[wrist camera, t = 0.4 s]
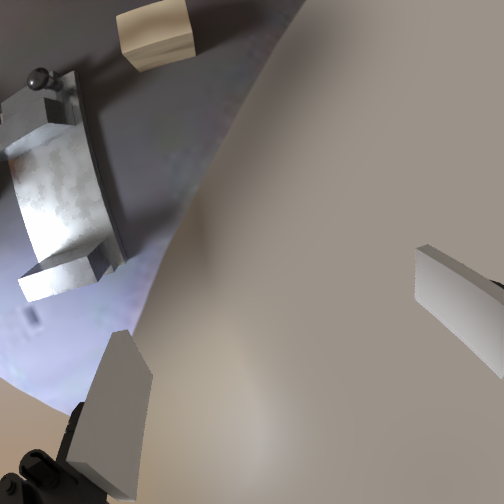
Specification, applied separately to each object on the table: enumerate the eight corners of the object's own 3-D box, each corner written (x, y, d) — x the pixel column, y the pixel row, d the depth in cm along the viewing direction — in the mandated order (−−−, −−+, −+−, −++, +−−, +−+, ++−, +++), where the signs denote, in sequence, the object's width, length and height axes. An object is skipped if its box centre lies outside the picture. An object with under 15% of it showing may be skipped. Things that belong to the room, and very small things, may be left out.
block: (133, 40, 27) (116, 16, 20) (188, 24, 27) (183, -5, 20) (140, 72, 29) (122, 53, 21) (195, 56, 29) (192, 32, 22)
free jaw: (4, 107, 25) (-32, 104, 17) (71, 67, 25) (40, 51, 18) (12, 159, 28) (-25, 165, 20) (81, 123, 28) (48, 118, 21)
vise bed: (6, 114, 27) (-31, 112, 19) (78, 72, 27) (47, 57, 19) (54, 281, 36) (27, 310, 28) (128, 259, 36) (108, 288, 28)
